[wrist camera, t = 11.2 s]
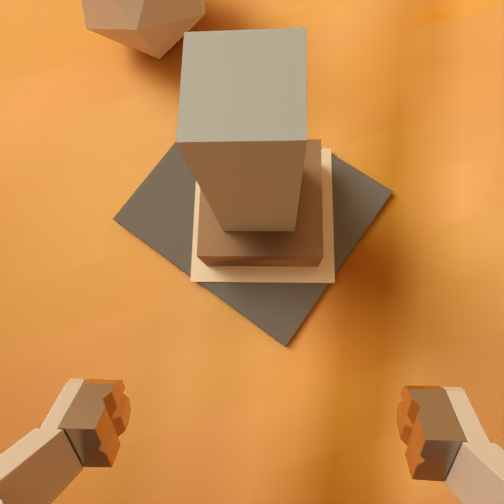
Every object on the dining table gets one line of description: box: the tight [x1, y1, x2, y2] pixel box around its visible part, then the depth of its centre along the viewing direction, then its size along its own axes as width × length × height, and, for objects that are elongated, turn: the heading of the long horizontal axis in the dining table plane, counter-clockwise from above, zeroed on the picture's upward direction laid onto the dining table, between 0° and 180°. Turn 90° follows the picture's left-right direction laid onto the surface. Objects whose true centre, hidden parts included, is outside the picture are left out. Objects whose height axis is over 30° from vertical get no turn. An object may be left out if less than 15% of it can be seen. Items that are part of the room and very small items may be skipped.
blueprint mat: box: [113, 139, 393, 346], centre depth 25 cm, size 14×12×1 cm
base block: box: [197, 139, 324, 267], centre depth 23 cm, size 7×7×3 cm
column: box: [176, 27, 307, 231], centre depth 17 cm, size 4×4×10 cm
